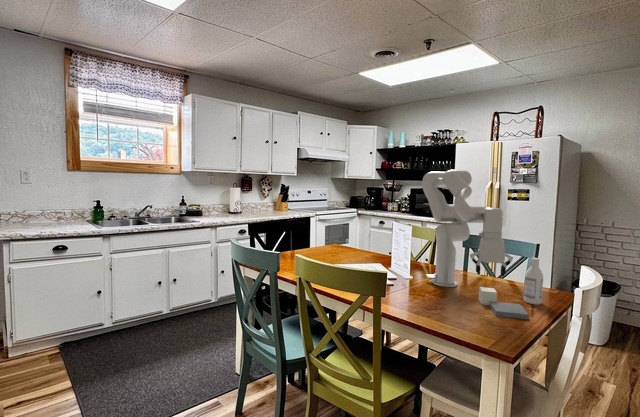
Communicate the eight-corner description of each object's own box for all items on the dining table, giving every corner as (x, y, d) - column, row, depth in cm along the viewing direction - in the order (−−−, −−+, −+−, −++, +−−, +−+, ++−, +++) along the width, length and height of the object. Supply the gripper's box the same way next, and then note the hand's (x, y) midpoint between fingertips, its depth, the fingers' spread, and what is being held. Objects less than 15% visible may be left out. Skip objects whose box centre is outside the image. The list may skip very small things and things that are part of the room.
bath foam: (535, 299, 164) (538, 256, 162) (544, 305, 157) (548, 260, 155) (520, 299, 164) (523, 256, 162) (528, 304, 157) (532, 260, 155)
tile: (495, 315, 143) (495, 311, 143) (489, 305, 155) (489, 301, 155) (528, 319, 140) (529, 314, 140) (519, 308, 152) (520, 304, 152)
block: (481, 304, 157) (482, 291, 156) (478, 299, 162) (479, 287, 162) (496, 305, 155) (497, 292, 155) (493, 301, 161) (493, 288, 160)
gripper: (472, 236, 154) (470, 275, 155) (516, 238, 150) (514, 278, 151) (469, 234, 162) (467, 271, 163) (511, 235, 157) (509, 274, 158)
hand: (490, 274), depth 157 cm, fingers open, 9 cm apart
